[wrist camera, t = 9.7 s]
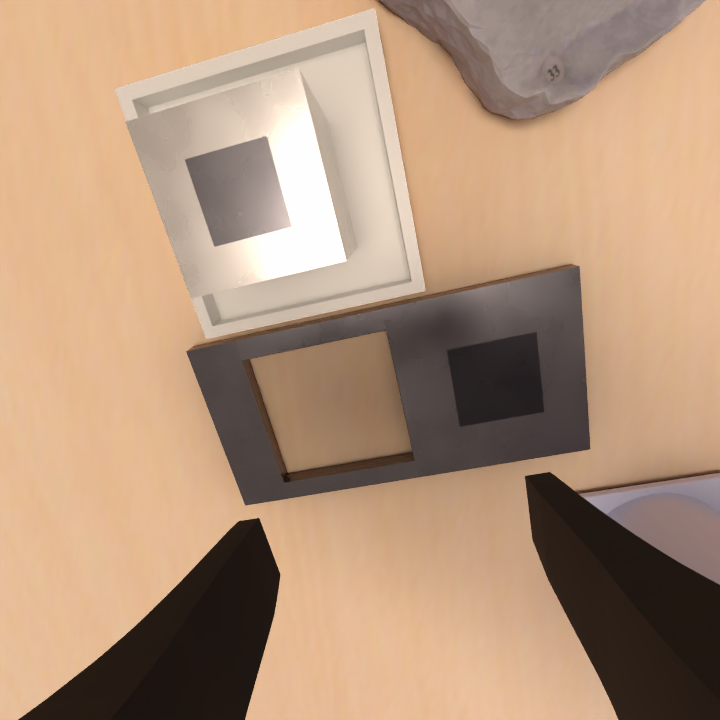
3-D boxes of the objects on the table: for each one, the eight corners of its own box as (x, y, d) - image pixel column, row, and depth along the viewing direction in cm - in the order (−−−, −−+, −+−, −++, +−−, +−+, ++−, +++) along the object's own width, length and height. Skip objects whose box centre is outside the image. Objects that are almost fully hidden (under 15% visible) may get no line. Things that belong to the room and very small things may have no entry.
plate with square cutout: (582, 440, 21) (591, 449, 20) (249, 495, 23) (245, 506, 22) (571, 264, 18) (580, 266, 17) (193, 346, 20) (185, 351, 19)
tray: (422, 285, 18) (426, 291, 17) (218, 330, 20) (205, 339, 18) (375, 27, 15) (375, 8, 14) (137, 99, 17) (114, 88, 15)
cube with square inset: (357, 247, 18) (345, 261, 12) (250, 274, 18) (189, 299, 13) (328, 121, 16) (298, 66, 10) (212, 154, 17) (123, 121, 11)
